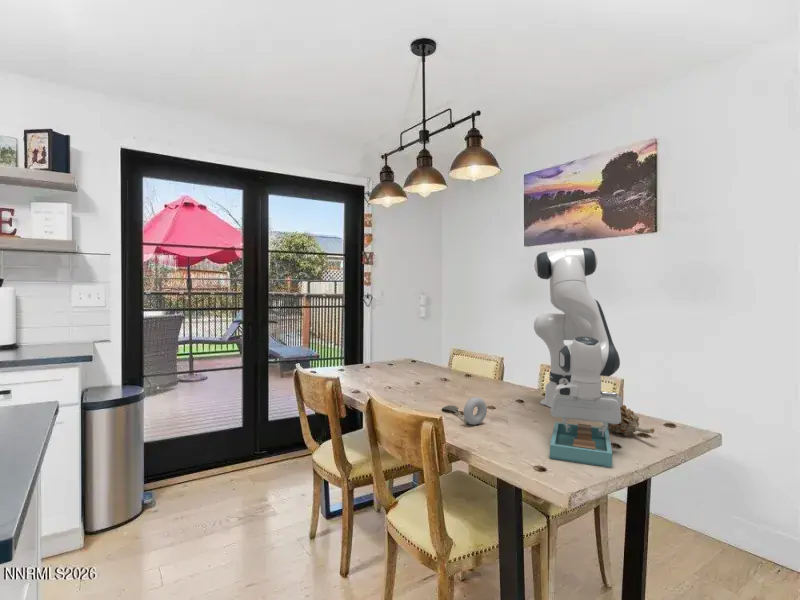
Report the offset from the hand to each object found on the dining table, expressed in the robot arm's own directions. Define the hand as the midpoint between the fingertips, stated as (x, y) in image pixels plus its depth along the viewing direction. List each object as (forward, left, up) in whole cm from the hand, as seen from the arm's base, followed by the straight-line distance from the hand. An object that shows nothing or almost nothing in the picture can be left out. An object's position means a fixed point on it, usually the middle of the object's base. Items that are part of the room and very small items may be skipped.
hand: (584, 434), depth 140 cm
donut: (-9, -36, -5) cm, 38 cm away
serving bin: (+2, -1, -4) cm, 5 cm away
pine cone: (-18, +14, -5) cm, 24 cm away
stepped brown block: (+2, 0, -4) cm, 4 cm away
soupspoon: (-17, -46, -5) cm, 49 cm away
